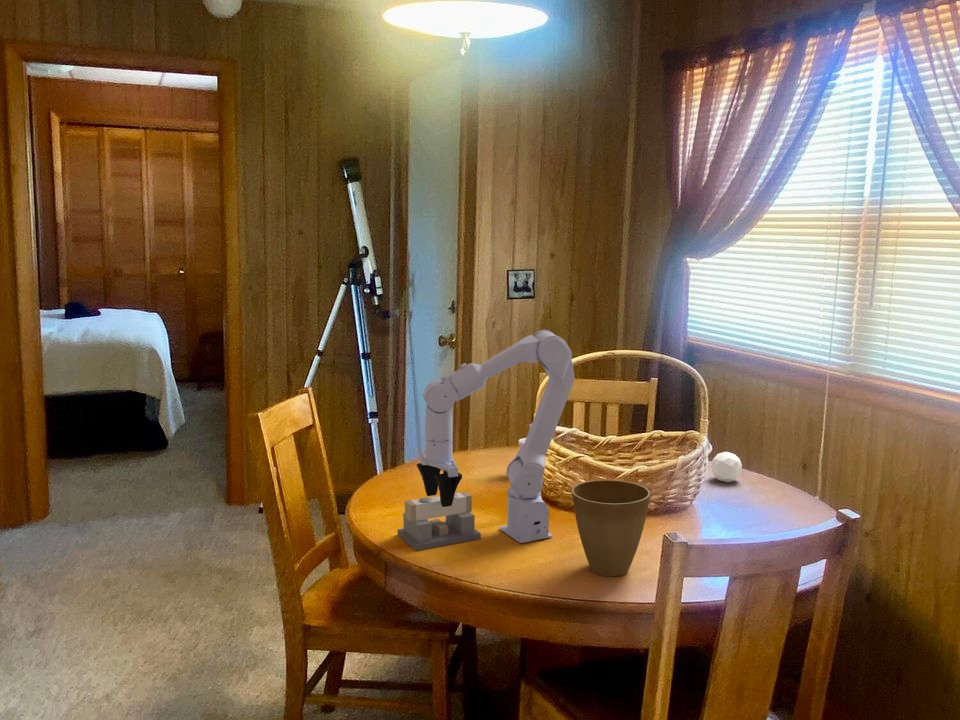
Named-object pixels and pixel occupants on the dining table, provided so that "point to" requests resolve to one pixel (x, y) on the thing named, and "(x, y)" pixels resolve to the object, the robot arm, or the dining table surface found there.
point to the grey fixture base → (439, 531)
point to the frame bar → (437, 507)
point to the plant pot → (610, 522)
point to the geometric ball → (726, 467)
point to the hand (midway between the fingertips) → (439, 500)
